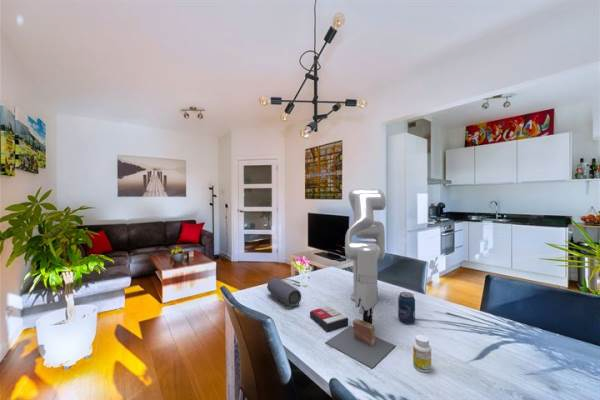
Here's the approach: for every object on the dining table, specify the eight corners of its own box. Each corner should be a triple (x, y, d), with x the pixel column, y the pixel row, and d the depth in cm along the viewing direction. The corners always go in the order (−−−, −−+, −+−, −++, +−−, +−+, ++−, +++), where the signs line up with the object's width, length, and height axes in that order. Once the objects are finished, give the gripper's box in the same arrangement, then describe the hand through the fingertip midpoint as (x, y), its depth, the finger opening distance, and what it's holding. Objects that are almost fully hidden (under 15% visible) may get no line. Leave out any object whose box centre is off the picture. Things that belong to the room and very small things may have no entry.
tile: (357, 334, 99) (356, 317, 98) (375, 342, 93) (374, 325, 93) (353, 337, 97) (352, 321, 97) (372, 346, 92) (370, 328, 91)
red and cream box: (328, 304, 120) (348, 316, 107) (329, 313, 120) (348, 326, 107) (309, 309, 115) (327, 322, 102) (309, 319, 115) (327, 333, 102)
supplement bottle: (429, 375, 77) (429, 345, 77) (411, 367, 80) (411, 338, 80) (433, 366, 81) (433, 337, 81) (415, 359, 85) (415, 331, 84)
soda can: (395, 321, 110) (395, 294, 110) (401, 315, 115) (401, 290, 115) (412, 326, 105) (411, 299, 105) (417, 320, 111) (417, 294, 110)
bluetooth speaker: (302, 306, 127) (302, 286, 127) (287, 311, 121) (286, 291, 121) (280, 292, 146) (280, 275, 145) (266, 296, 140) (266, 278, 140)
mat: (350, 326, 106) (350, 325, 106) (395, 346, 92) (395, 345, 92) (325, 343, 95) (325, 342, 95) (372, 369, 80) (372, 367, 80)
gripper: (368, 271, 104) (369, 314, 105) (348, 280, 94) (348, 328, 94) (385, 275, 99) (385, 321, 99) (365, 285, 89) (366, 335, 89)
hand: (367, 324), depth 97 cm, fingers closed
